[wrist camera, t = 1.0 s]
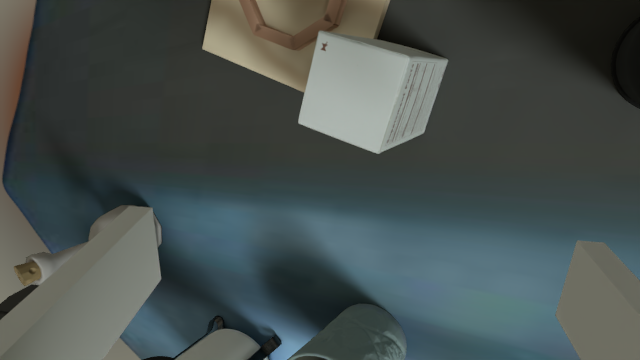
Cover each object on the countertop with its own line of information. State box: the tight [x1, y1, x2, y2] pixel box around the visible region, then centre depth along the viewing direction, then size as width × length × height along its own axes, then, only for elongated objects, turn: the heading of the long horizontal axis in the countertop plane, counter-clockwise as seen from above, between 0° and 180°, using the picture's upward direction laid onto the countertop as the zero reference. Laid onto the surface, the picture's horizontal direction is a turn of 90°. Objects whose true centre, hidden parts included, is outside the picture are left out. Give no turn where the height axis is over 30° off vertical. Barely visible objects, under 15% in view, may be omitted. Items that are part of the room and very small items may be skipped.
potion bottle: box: [14, 205, 162, 286], centre depth 57 cm, size 9×9×18 cm
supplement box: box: [298, 30, 448, 154], centre depth 38 cm, size 7×7×13 cm
